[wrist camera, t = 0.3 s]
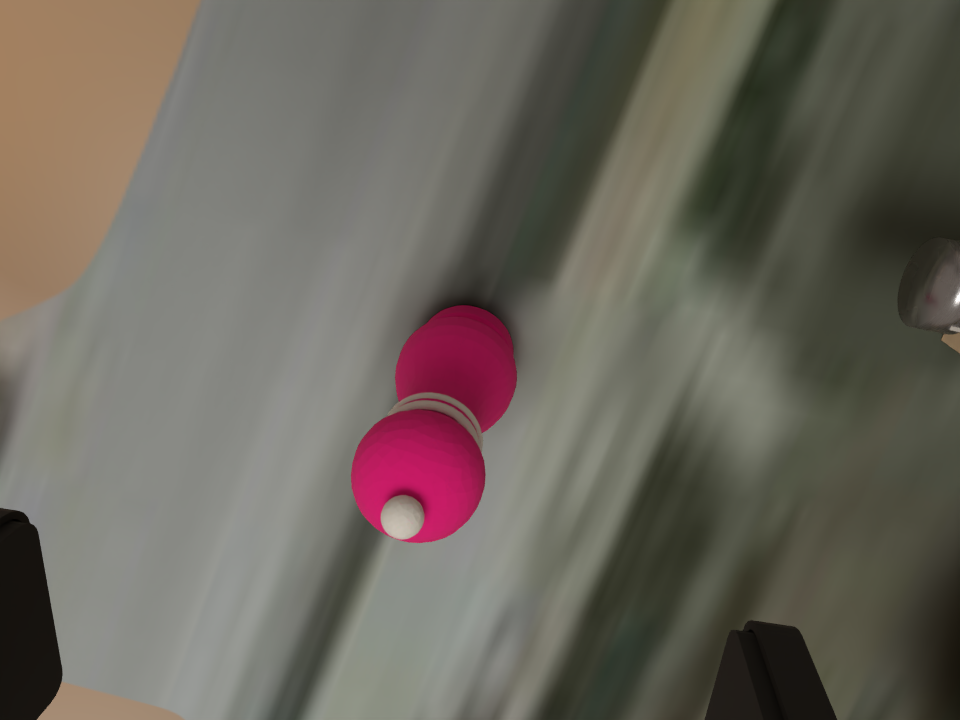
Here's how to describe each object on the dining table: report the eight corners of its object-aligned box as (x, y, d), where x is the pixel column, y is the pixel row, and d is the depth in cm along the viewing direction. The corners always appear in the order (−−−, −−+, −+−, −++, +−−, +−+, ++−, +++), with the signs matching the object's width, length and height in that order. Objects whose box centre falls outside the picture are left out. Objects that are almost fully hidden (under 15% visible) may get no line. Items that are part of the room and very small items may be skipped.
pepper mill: (402, 384, 48) (298, 577, 30) (423, 284, 45) (322, 428, 27) (506, 411, 48) (466, 622, 30) (533, 313, 45) (508, 477, 27)
